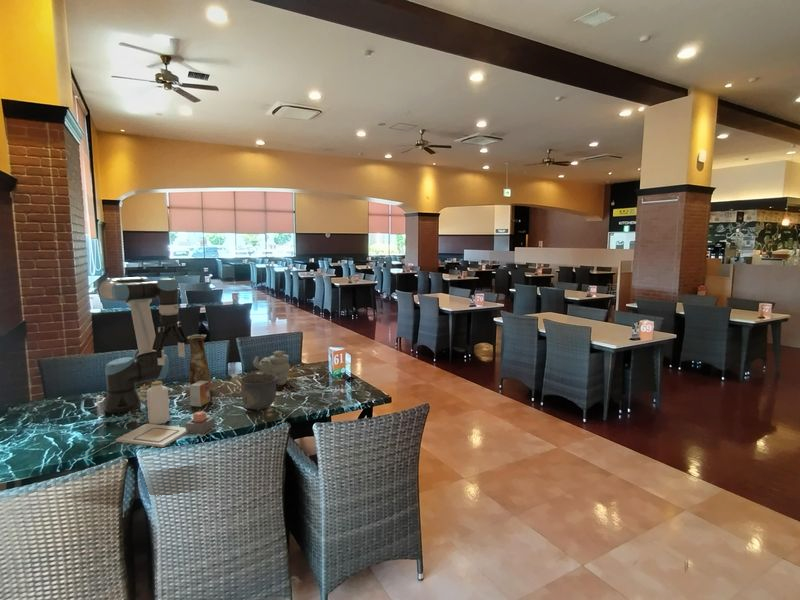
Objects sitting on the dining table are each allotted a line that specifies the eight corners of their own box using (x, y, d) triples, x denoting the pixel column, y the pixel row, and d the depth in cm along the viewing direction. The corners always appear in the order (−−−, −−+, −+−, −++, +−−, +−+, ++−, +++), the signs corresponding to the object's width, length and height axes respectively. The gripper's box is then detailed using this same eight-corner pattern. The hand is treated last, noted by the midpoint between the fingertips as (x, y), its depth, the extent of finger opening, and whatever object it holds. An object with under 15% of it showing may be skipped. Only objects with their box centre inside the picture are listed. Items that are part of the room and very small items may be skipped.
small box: (200, 407, 217) (199, 385, 216) (190, 406, 218) (189, 385, 217) (210, 401, 225) (209, 380, 224) (200, 400, 226) (199, 380, 225)
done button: (190, 424, 189) (190, 415, 188) (198, 419, 194) (198, 410, 193) (201, 425, 188) (200, 416, 187) (209, 420, 192) (208, 411, 192)
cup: (286, 403, 221) (285, 374, 219) (266, 417, 205) (265, 385, 203) (254, 400, 226) (253, 371, 224) (233, 413, 209) (231, 381, 207)
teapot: (252, 384, 252) (251, 351, 249) (272, 377, 265) (271, 346, 262) (275, 388, 244) (274, 355, 242) (293, 381, 257) (292, 349, 255)
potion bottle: (173, 418, 203) (170, 379, 201) (164, 425, 195) (161, 385, 193) (154, 418, 203) (151, 379, 201) (144, 425, 195) (141, 385, 192)
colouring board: (116, 441, 179) (115, 438, 179) (146, 425, 195) (146, 423, 194) (163, 447, 174) (163, 444, 174) (191, 430, 190) (190, 427, 190)
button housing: (185, 432, 188) (185, 423, 187) (198, 424, 196) (197, 415, 195) (202, 434, 186) (202, 424, 186) (214, 426, 194) (214, 417, 193)
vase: (203, 394, 235) (200, 338, 231) (185, 393, 237) (181, 337, 233) (214, 388, 245) (212, 334, 241) (197, 387, 247) (193, 333, 243)
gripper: (156, 318, 184) (159, 369, 187) (194, 309, 209) (196, 354, 212) (140, 318, 186) (144, 368, 189) (180, 308, 210) (182, 353, 213)
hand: (171, 360), depth 200 cm, fingers open, 13 cm apart
